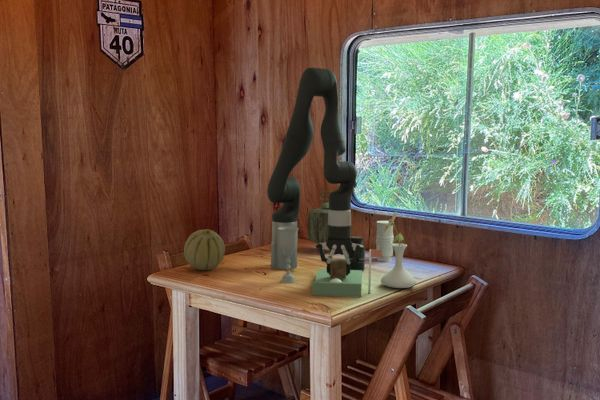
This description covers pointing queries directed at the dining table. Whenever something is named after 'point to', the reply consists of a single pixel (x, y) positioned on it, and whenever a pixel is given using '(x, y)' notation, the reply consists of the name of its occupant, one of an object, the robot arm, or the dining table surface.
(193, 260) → the cantaloupe
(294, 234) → the chalice
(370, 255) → the flag pin
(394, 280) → the flower in vase
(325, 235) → the tabletop clock
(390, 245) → the candle
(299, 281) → the dining table surface
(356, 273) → the green
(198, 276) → the dining table surface
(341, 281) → the ball
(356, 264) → the supplement bottle
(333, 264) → the wooden channel cradle
